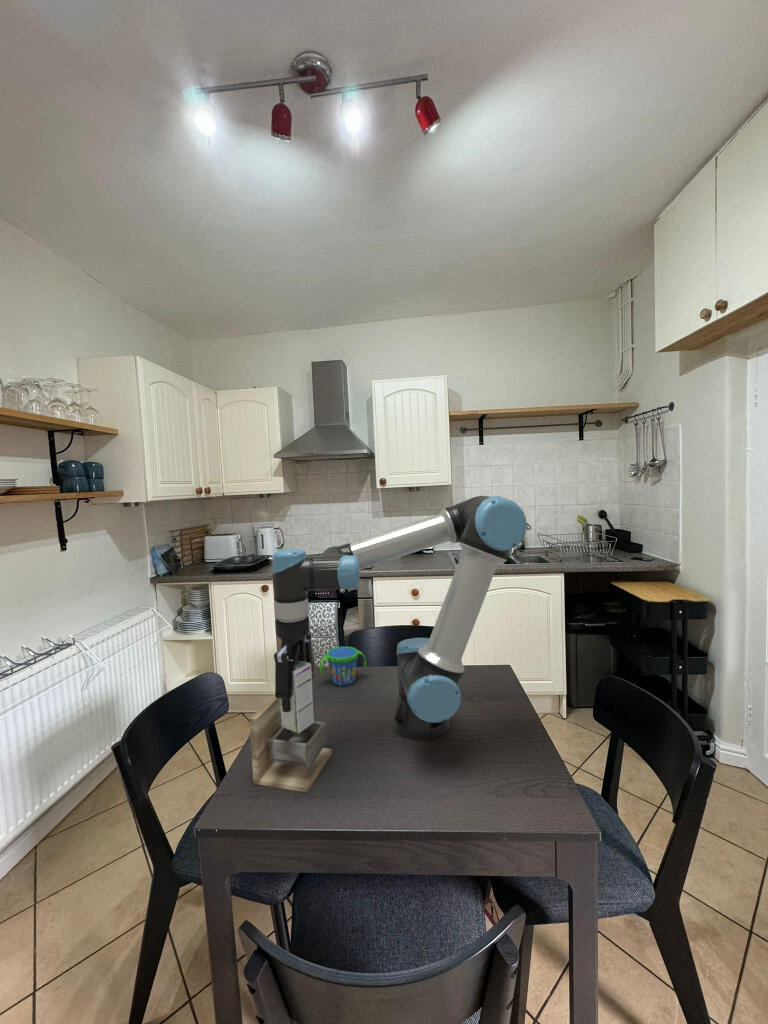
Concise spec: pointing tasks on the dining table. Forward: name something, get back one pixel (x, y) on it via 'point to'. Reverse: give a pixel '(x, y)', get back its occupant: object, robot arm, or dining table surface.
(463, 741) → the dining table surface
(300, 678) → the syrup box
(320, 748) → the wooden caddy with bin
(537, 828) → the dining table surface
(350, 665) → the snack cup
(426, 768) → the dining table surface
